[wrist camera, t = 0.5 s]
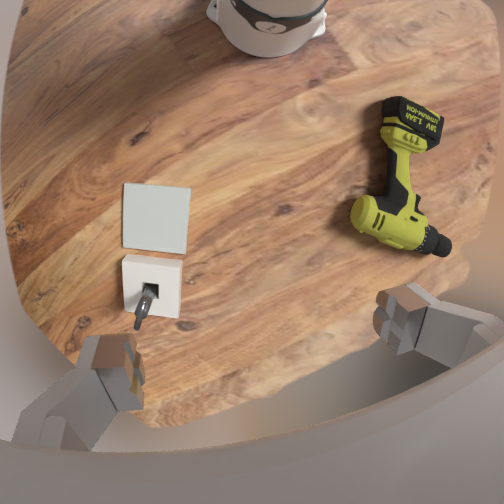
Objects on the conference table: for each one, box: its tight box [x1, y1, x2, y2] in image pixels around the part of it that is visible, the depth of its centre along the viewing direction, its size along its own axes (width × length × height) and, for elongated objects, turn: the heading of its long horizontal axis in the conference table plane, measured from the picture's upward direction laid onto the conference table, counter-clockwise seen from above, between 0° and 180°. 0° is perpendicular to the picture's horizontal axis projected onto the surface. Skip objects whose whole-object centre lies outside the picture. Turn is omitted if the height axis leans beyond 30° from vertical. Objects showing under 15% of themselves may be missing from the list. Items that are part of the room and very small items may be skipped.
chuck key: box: [134, 283, 159, 331], centre depth 47 cm, size 6×2×11 cm, turn 156°
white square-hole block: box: [122, 254, 182, 318], centre depth 51 cm, size 10×10×3 cm
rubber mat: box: [123, 183, 191, 254], centre depth 47 cm, size 11×11×1 cm
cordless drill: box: [350, 96, 452, 257], centre depth 45 cm, size 7×25×25 cm
